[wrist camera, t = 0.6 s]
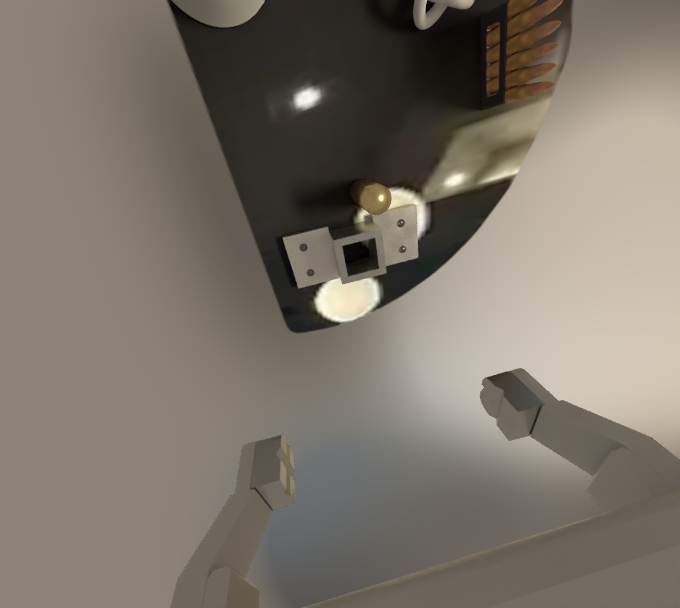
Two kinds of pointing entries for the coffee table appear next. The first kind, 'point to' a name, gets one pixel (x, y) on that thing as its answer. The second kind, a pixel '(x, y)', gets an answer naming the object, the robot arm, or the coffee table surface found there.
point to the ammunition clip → (514, 51)
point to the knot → (435, 11)
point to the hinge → (326, 245)
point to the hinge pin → (371, 196)
